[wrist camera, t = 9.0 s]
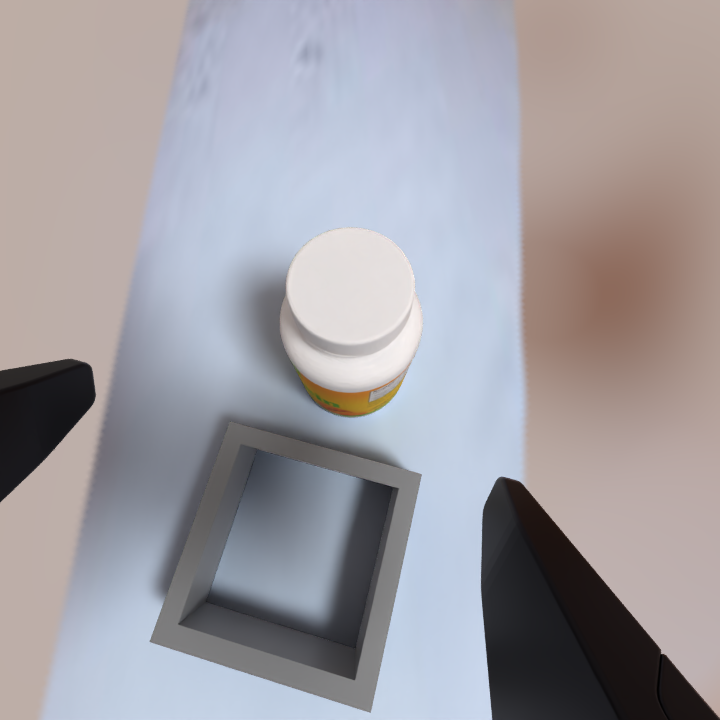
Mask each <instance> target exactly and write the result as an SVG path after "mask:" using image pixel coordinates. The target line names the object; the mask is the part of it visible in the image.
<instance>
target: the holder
mask: <svg viewBox="0 0 720 720" xmlns="http://www.w3.org/2000/svg"><path fill="white" fill-rule="evenodd" d="M257 450H261V451H264V452H268V453H271V454H275V455H279V456H282V457H286V458H289V459H293V460H297V461H300V462H304V463H307V464H311V465H314V466H318V467H322V468H325V469H329V470H332V471H336V472H339V473H343V474H347V475H350V476H354V477H357V478H361V479H364V480H368V481H372V482H375V483H379V484H382V485H386V486H389V487H393V489H392V493H391V497H390V502H389V506H388V510H387V515H386V519H385V523H384V528H383V532H382V536H381V540H380V545H379V549H378V553H377V558H376V562H375V566H374V571H373V575H372V579H371V583H370V588H369V592H368V596H367V601H366V605H365V609H364V613H363V618H362V622H361V626H360V631H359V635H358V639H357V644H356V648H352V647H349V646H346V645H342V644H339V643H336V642H333V641H330V640H326V639H323V638H320V637H317V636H313V635H310V634H307V633H304V632H301V631H297V630H294V629H291V628H288V627H284V626H281V625H278V624H275V623H271V622H268V621H265V620H262V619H259V618H255V617H252V616H249V615H246V614H242V613H239V612H236V611H233V610H230V609H226V608H223V607H220V606H217V605H213V604H210V603H207V602H206V601H207V598H208V595H209V592H210V589H211V586H212V583H213V580H214V577H215V574H216V571H217V568H218V565H219V562H220V559H221V556H222V553H223V550H224V547H225V544H226V541H227V538H228V535H229V532H230V529H231V526H232V523H233V520H234V517H235V514H236V511H237V509H238V506H239V503H240V500H241V497H242V494H243V491H244V488H245V485H246V482H247V479H248V476H249V473H250V470H251V467H252V464H253V461H254V458H255V455H256V452H257ZM421 476H422V474H419V473H416V472H412V471H408V470H405V469H401V468H397V467H394V466H390V465H387V464H383V463H379V462H376V461H372V460H368V459H365V458H361V457H358V456H354V455H350V454H347V453H343V452H339V451H336V450H332V449H329V448H325V447H321V446H318V445H314V444H311V443H307V442H303V441H300V440H296V439H292V438H289V437H285V436H282V435H278V434H274V433H271V432H267V431H263V430H260V429H256V428H253V427H249V426H245V425H242V424H238V423H234V422H231V421H230V422H229V425H228V428H227V430H226V433H225V436H224V439H223V441H222V444H221V447H220V450H219V452H218V455H217V458H216V461H215V463H214V466H213V469H212V472H211V474H210V477H209V480H208V483H207V485H206V488H205V491H204V494H203V496H202V499H201V502H200V505H199V507H198V510H197V513H196V516H195V518H194V521H193V524H192V527H191V529H190V532H189V535H188V538H187V541H186V543H185V546H184V549H183V552H182V554H181V557H180V560H179V563H178V565H177V568H176V571H175V574H174V576H173V579H172V582H171V585H170V587H169V590H168V593H167V596H166V598H165V601H164V604H163V607H162V609H161V612H160V615H159V618H158V620H157V623H156V626H155V629H154V631H153V634H152V637H151V640H150V642H151V643H155V644H158V645H161V646H164V647H167V648H170V649H173V650H176V651H180V652H183V653H186V654H189V655H192V656H195V657H198V658H201V659H205V660H208V661H211V662H214V663H217V664H220V665H223V666H226V667H229V668H233V669H236V670H239V671H242V672H245V673H248V674H251V675H254V676H258V677H261V678H264V679H267V680H270V681H273V682H276V683H279V684H283V685H286V686H289V687H292V688H295V689H298V690H301V691H304V692H308V693H311V694H314V695H317V696H320V697H323V698H326V699H329V700H332V701H336V702H339V703H342V704H345V705H348V706H351V707H354V708H357V709H361V710H364V711H367V712H370V713H371V709H372V704H373V699H374V695H375V690H376V685H377V681H378V676H379V671H380V667H381V662H382V657H383V653H384V648H385V643H386V639H387V634H388V629H389V625H390V620H391V615H392V611H393V606H394V601H395V597H396V592H397V587H398V583H399V578H400V573H401V569H402V564H403V559H404V555H405V550H406V545H407V541H408V536H409V531H410V527H411V522H412V518H413V513H414V508H415V504H416V499H417V494H418V490H419V485H420V480H421Z"/></svg>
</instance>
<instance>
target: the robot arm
mask: <svg viewBox="0 0 720 720" xmlns="http://www.w3.org/2000/svg"><path fill="white" fill-rule="evenodd" d="M95 397H96V393H95V385H94V379H93V371H92V368H91V366H90V365H89V364H87V363H85V362H81V361H78V360H74V359H65V360H60V361H54V362H48V363H42V364H37V365H31V366H25V367H19V368H14V369H8V370H2V371H0V502H1V501H2V500H3V499H4V498H5V497H6V496H7V495H9V494H10V493H11V492H12V491H13V490H14V488H16V487H17V486H18V485H19V484H20V483H21V482H22V481H23V480H24V479H25V478H26V477H27V476H28V475H29V474H30V473H32V472H33V471H34V470H35V469H36V468H37V467H38V466H39V465H40V463H42V462H43V460H45V459H46V458H47V456H48V455H49V454H50V453H51V452H52V451H53V450H54V449H55V448H56V446H57V445H58V444H59V443H60V442H61V441H62V440H63V438H64V437H65V436H66V435H67V434H68V433H69V431H70V430H71V429H72V428H73V427H74V426H75V425H76V423H77V422H78V421H79V420H80V419H81V418H82V416H83V415H84V414H85V413H86V412H87V411H88V410H89V409H90V407H91V406H92V405H93V403H94V401H95ZM481 595H482V608H483V619H484V631H485V642H486V653H487V665H488V676H489V687H490V699H491V710H492V720H720V718H719V717H718V716H717V715H716V713H714V711H713V710H712V709H711V708H710V707H709V705H708V704H707V703H706V702H705V701H704V700H703V698H702V697H701V696H700V695H699V694H698V693H697V691H696V690H695V689H694V688H693V687H692V686H691V684H690V683H689V682H688V681H687V680H686V679H685V677H684V676H683V675H682V674H681V673H680V671H679V670H678V669H677V668H676V667H675V665H674V664H673V663H672V662H671V661H670V660H669V658H668V657H667V656H666V655H664V654H661V649H660V648H659V647H658V645H657V644H656V643H655V642H654V641H653V639H652V638H651V637H650V636H649V635H648V634H647V632H646V631H645V630H644V629H643V627H642V626H641V625H640V624H639V623H638V621H637V620H636V619H635V618H634V617H633V616H632V614H631V613H630V612H629V611H628V610H627V609H626V607H625V606H624V605H623V604H622V602H621V601H620V600H619V599H618V598H617V596H615V594H614V593H613V592H612V591H611V589H610V588H609V587H608V586H607V585H606V583H605V582H604V581H603V580H602V579H601V577H600V576H599V575H598V574H597V573H596V571H595V570H594V569H593V568H592V567H591V566H590V564H589V563H588V562H587V561H586V559H585V558H584V557H583V556H582V555H581V554H580V552H579V551H578V550H577V549H576V548H575V546H574V545H573V544H572V543H571V541H570V540H569V539H568V538H567V537H566V536H565V534H564V533H563V532H562V531H561V530H560V528H559V527H558V526H557V525H556V524H555V522H554V521H553V520H552V519H551V518H550V516H549V515H548V514H547V513H546V512H545V510H544V509H543V508H542V507H541V506H540V504H539V503H538V502H537V501H536V500H535V498H534V497H533V496H532V495H531V494H530V492H529V491H528V490H527V489H526V488H525V487H524V485H523V484H522V483H521V482H519V481H517V480H513V479H510V478H506V477H499V478H498V479H497V480H496V482H495V484H494V486H493V488H492V490H491V493H490V495H489V497H488V499H487V501H486V503H485V506H484V509H483V519H482V560H481Z"/></svg>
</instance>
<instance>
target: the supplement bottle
mask: <svg viewBox="0 0 720 720" xmlns="http://www.w3.org/2000/svg"><path fill="white" fill-rule="evenodd" d="M422 328H423V316H422V309H421V305H420V302H419V299H418V297H417V294H416V292H415V279H414V274H413V270H412V268H411V265H410V263H409V261H408V259H407V257H406V256H405V254H404V253H403V252H402V250H401V249H400V248H399V247H398V246H397V245H396V244H395V243H394V242H392V241H391V240H390V239H388V238H387V237H385V236H383V235H381V234H379V233H377V232H374V231H371V230H367V229H362V228H353V227H347V228H338V229H334V230H330V231H327V232H324V233H322V234H320V235H318V236H316V237H315V238H313V239H311V240H310V241H309V242H307V243H306V244H305V245H304V246H303V247H302V248H301V249H300V250H299V251H298V252H297V254H296V255H295V257H294V258H293V260H292V262H291V264H290V267H289V270H288V273H287V277H286V295H285V298H284V300H283V303H282V306H281V312H280V333H281V338H282V342H283V345H284V347H285V350H286V352H287V354H288V357H289V358H290V360H291V362H292V364H293V366H294V368H295V370H296V371H297V373H298V375H299V377H300V379H301V381H302V383H303V385H304V387H305V389H306V390H307V392H308V394H309V395H310V396H311V398H312V399H313V400H314V401H315V402H316V403H317V404H318V405H319V406H320V407H321V408H323V409H324V410H326V411H328V412H330V413H332V414H334V415H338V416H342V417H349V418H355V417H362V416H366V415H369V414H372V413H374V412H376V411H378V410H380V409H381V408H383V407H384V406H385V405H387V404H388V403H389V402H390V401H391V400H392V398H393V397H394V396H395V395H396V393H397V391H398V390H399V388H400V386H401V384H402V382H403V379H404V377H405V375H406V373H407V371H408V369H409V366H410V364H411V362H412V360H413V358H414V356H415V353H416V351H417V349H418V346H419V343H420V339H421V335H422Z"/></svg>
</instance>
